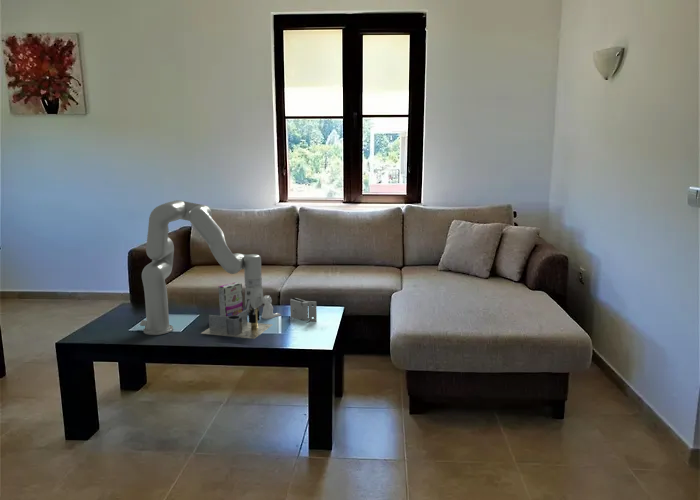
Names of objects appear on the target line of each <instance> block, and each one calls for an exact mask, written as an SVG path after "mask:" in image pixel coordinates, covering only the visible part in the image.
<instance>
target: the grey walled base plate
mask: <svg viewBox="0 0 700 500" xmlns="http://www.w3.org/2000/svg"><path fill="white" fill-rule="evenodd" d="M208 325H209V326H208V328H207V329H205V330H204V331H202V332H200V334H203V335H212V336H213V335H214V336H221V337H222V336H224V337H231V338H241V339H253V340H255V339H256V338H257V337H259V336H261V335H262V333H264V332H266V331H267V330H268V329H269V328H271V327H272V326H273V325H274V324H272V323H271V324H270V323H259V322H258V328H257V329H251V323H249V321H248V312H247V311H246V309H243V311H242V312H241V313H239V314H238V315H232V316H220V315H215V314H214V315H213V314H208Z"/></svg>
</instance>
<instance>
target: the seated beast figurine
mask: <svg viewBox="0 0 700 500" xmlns="http://www.w3.org/2000/svg"><path fill="white" fill-rule="evenodd" d="M272 302H273V300H272V297H271V296H270V295H269V294H268V295H263V304H264V305H263V307H262V313H261V318H262V319H263V320H270V319H273V318H276V317H281V316H282V314H281V313H279V312H276V313H274V307H273V305H272Z"/></svg>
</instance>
